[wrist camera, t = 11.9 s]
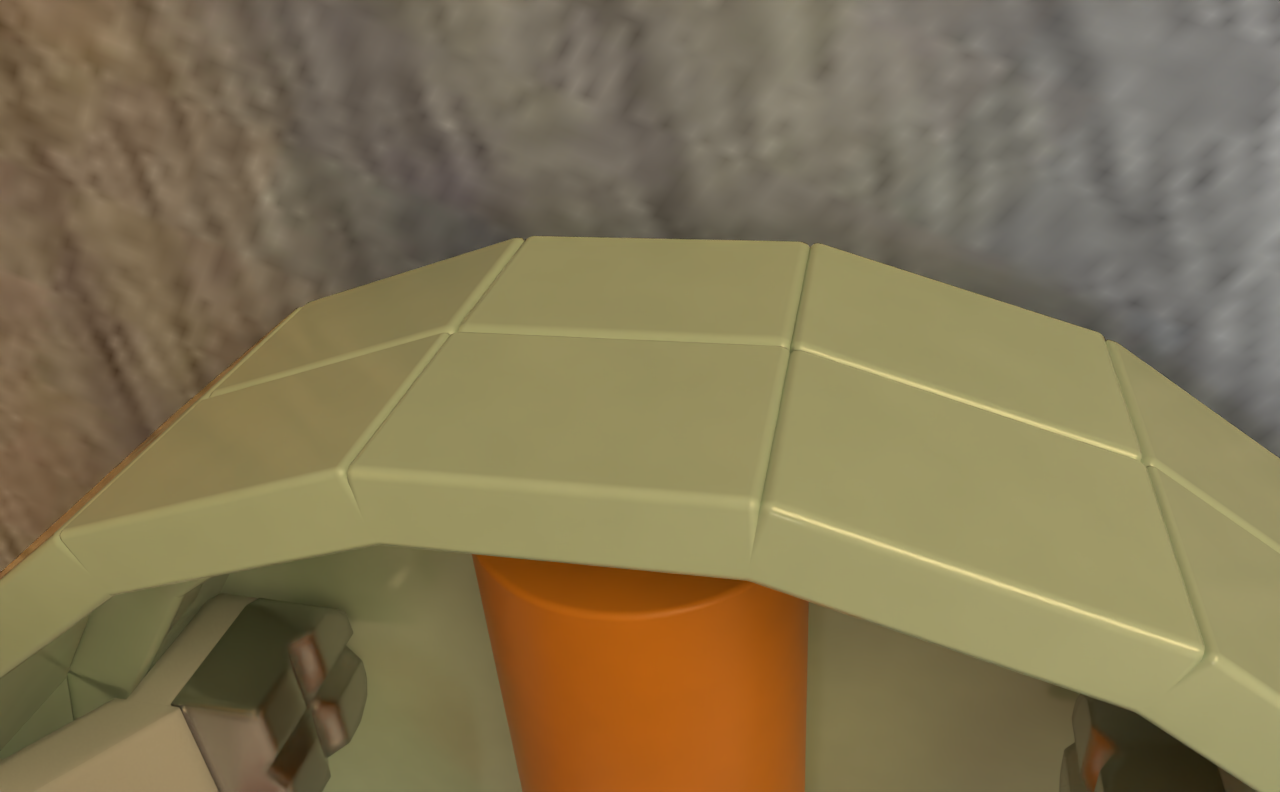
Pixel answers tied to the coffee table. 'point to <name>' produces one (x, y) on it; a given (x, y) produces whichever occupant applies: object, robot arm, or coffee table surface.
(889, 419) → the bowl
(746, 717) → the screwdriver
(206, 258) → the coffee table surface
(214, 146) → the coffee table surface
